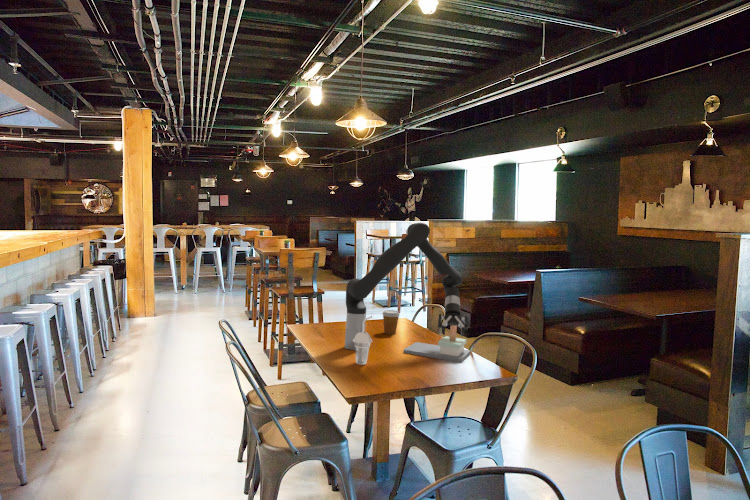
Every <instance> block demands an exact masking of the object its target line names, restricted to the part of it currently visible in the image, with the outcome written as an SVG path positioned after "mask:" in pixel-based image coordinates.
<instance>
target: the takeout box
mask: <svg viewBox="0 0 750 500" xmlns="http://www.w3.org/2000/svg"><path fill="white" fill-rule="evenodd" d="M439 346H440V345H439ZM464 350H465V345H464V346H462V347H461V348H460V349H459V348H453V347H447V346H440V354H446V355H452V356H459V355H460V354H461V353H462V352H464Z"/></svg>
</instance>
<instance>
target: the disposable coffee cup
mask: <svg viewBox="0 0 750 500" xmlns="http://www.w3.org/2000/svg"><path fill="white" fill-rule="evenodd" d="M382 318H383V333H384V334H385V335H396V333H397V328H398V322H399V318H400V311H397V310H392V309H386V310H383V312H382Z"/></svg>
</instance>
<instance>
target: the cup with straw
mask: <svg viewBox="0 0 750 500" xmlns="http://www.w3.org/2000/svg"><path fill="white" fill-rule="evenodd" d="M372 318H373V316H372V315H371V316H369V317H366V319H364V320H363V328H362V331H361V332H358V333H357V334H356V336H355V338H353V342H354V344H355V350H354V353H355V364H356V365H362V366H363V365H367V361H368V358H369V350H370V346H371V343H373V339H372V338H371V336H370V334H369V332H367V331H365V332H364V322H365V323H366V321H368V320H370V319H372ZM365 320H366V321H365Z"/></svg>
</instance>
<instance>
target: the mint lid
mask: <svg viewBox="0 0 750 500" xmlns="http://www.w3.org/2000/svg"><path fill="white" fill-rule="evenodd" d="M449 326H450V327H449V336H447V335H446V336H445V335H444V337H443V338H441V339H439V340H438V341H437V345H439V346H447V347H453V348H459V349H460V348H461V347H462V346H464V347H465V345H466V344H467V339H466V338H461V337H460V338H459V337H457V329H458V326H457V325H449Z"/></svg>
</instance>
